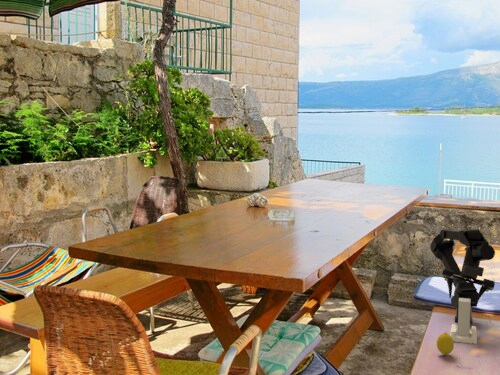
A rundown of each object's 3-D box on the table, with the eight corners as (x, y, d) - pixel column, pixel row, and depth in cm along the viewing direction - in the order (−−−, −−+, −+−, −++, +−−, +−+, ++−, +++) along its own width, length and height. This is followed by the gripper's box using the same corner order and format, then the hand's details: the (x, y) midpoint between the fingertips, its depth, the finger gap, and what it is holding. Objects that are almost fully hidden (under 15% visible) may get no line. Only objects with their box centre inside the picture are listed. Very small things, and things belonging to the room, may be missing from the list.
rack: (450, 332, 225) (451, 323, 225) (476, 335, 222) (476, 326, 222) (450, 341, 217) (450, 331, 216) (476, 344, 214) (477, 334, 213)
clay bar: (458, 331, 222) (459, 297, 220) (469, 332, 221) (470, 298, 219) (457, 335, 218) (458, 300, 217) (469, 336, 217) (470, 302, 215)
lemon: (433, 353, 206) (433, 331, 205) (446, 350, 208) (446, 328, 207) (443, 359, 201) (444, 336, 200) (456, 356, 203) (457, 334, 202)
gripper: (447, 250, 223) (438, 291, 219) (500, 264, 217) (491, 305, 213) (446, 257, 233) (436, 295, 230) (496, 269, 227) (487, 309, 224)
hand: (462, 301), depth 224 cm, fingers open, 9 cm apart
